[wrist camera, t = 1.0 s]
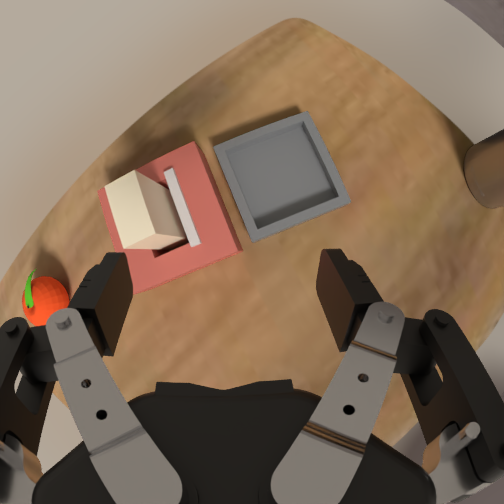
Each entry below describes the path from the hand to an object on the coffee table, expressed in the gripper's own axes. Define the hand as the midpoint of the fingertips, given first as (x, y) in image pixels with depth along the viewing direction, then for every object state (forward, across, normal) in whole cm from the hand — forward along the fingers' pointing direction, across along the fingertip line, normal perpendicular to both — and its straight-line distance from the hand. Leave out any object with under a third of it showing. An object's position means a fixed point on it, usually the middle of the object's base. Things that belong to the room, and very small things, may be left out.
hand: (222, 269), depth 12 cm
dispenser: (+21, +6, +8) cm, 23 cm away
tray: (+22, -6, +3) cm, 23 cm away
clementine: (+19, +23, +17) cm, 35 cm away
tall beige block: (+21, +6, +8) cm, 23 cm away
